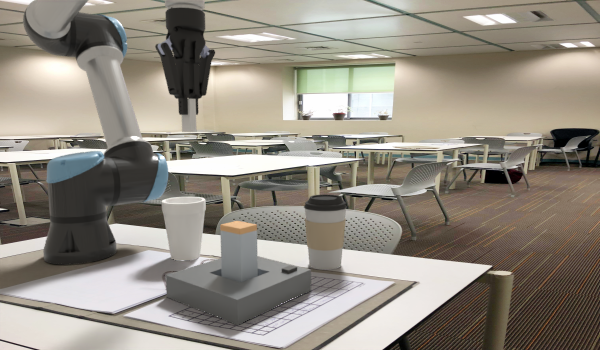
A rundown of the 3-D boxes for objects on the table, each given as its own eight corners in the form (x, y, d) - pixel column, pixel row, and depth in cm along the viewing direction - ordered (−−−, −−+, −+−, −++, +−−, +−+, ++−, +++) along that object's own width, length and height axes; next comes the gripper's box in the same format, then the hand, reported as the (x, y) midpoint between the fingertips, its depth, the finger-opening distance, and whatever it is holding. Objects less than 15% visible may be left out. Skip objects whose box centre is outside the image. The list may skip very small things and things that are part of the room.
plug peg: (222, 290, 83) (220, 224, 82) (238, 284, 86) (237, 220, 85) (241, 297, 80) (240, 228, 79) (257, 290, 83) (256, 224, 82)
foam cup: (161, 253, 108) (159, 198, 107) (201, 249, 112) (200, 195, 110) (167, 265, 99) (165, 205, 98) (210, 260, 103) (209, 202, 102)
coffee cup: (297, 268, 97) (297, 197, 95) (312, 256, 106) (312, 190, 104) (339, 273, 94) (339, 199, 92) (351, 260, 102) (352, 193, 100)
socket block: (166, 297, 82) (165, 271, 81) (241, 270, 96) (240, 249, 95) (238, 325, 71) (237, 296, 70) (310, 290, 84) (310, 266, 84)
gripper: (168, 0, 84) (173, 132, 87) (223, 13, 94) (226, 131, 97) (144, 7, 89) (150, 132, 91) (199, 18, 99) (202, 130, 101)
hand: (189, 131), depth 94 cm, fingers closed
